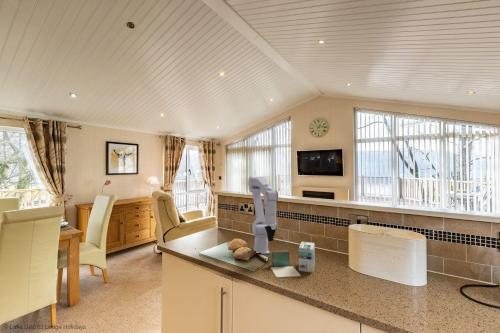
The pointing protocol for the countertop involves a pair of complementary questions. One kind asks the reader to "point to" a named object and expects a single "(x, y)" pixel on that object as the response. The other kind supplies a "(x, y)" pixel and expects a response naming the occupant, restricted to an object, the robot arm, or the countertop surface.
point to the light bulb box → (306, 256)
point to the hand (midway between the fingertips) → (270, 240)
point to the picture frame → (280, 258)
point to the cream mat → (285, 271)
